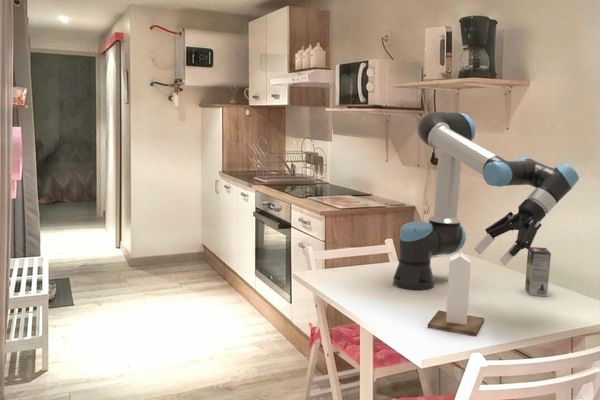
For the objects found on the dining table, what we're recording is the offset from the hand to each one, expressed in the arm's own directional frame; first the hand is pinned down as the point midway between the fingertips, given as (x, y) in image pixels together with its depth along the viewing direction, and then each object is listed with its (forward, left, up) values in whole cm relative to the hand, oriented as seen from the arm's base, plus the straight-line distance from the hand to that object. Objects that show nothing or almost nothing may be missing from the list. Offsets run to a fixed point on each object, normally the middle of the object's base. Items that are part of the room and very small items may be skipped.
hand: (488, 256), depth 168 cm
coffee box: (+12, +43, -21) cm, 49 cm away
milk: (-7, -6, -20) cm, 22 cm away
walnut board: (-7, -6, -21) cm, 23 cm away
